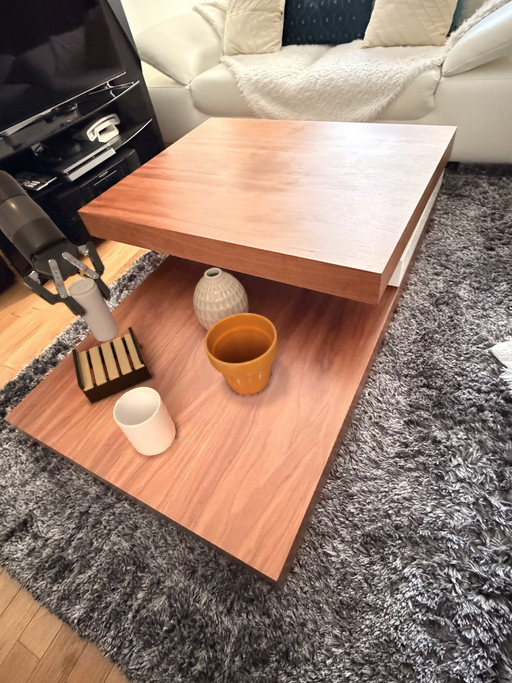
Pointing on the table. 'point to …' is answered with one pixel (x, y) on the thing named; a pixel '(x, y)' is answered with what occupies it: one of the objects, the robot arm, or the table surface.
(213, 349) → the flower pot
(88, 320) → the beverage can
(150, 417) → the mug
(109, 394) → the rack
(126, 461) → the table surface
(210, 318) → the vase
